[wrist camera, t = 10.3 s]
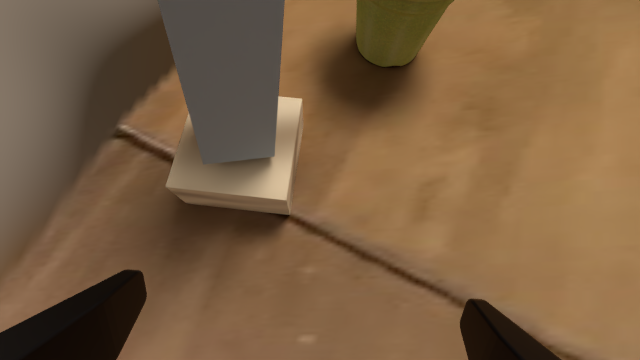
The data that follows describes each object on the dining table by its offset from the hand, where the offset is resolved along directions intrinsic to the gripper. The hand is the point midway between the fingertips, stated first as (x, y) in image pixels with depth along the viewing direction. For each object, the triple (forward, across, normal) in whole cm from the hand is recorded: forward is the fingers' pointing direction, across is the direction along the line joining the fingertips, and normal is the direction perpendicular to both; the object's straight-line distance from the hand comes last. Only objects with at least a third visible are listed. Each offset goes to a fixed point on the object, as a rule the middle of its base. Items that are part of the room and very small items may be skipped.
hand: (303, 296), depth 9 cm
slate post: (+14, +6, -1) cm, 15 cm away
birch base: (+17, +6, +3) cm, 18 cm away
